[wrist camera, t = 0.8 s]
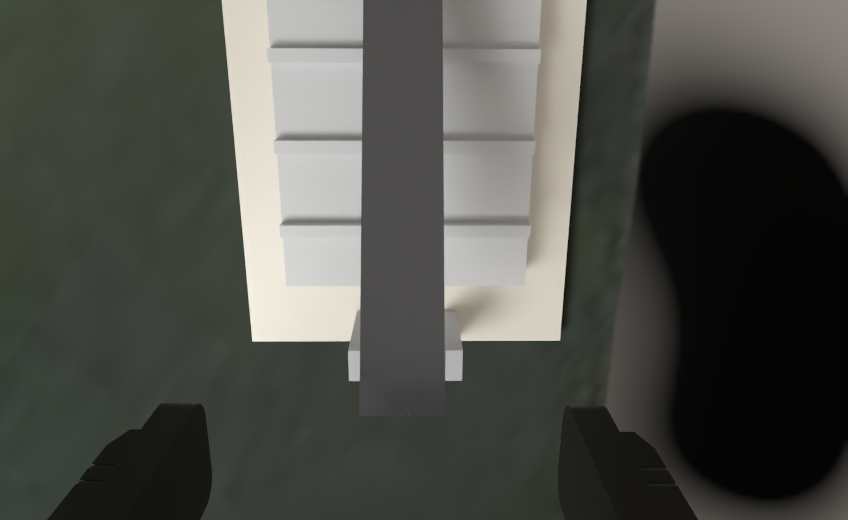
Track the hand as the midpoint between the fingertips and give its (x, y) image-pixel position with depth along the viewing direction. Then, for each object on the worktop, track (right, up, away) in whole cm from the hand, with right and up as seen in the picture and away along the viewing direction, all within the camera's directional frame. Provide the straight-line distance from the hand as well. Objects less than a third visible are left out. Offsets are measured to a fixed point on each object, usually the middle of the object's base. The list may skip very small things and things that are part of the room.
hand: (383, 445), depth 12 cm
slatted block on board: (0, +10, +20) cm, 22 cm away
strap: (0, +8, +12) cm, 14 cm away
